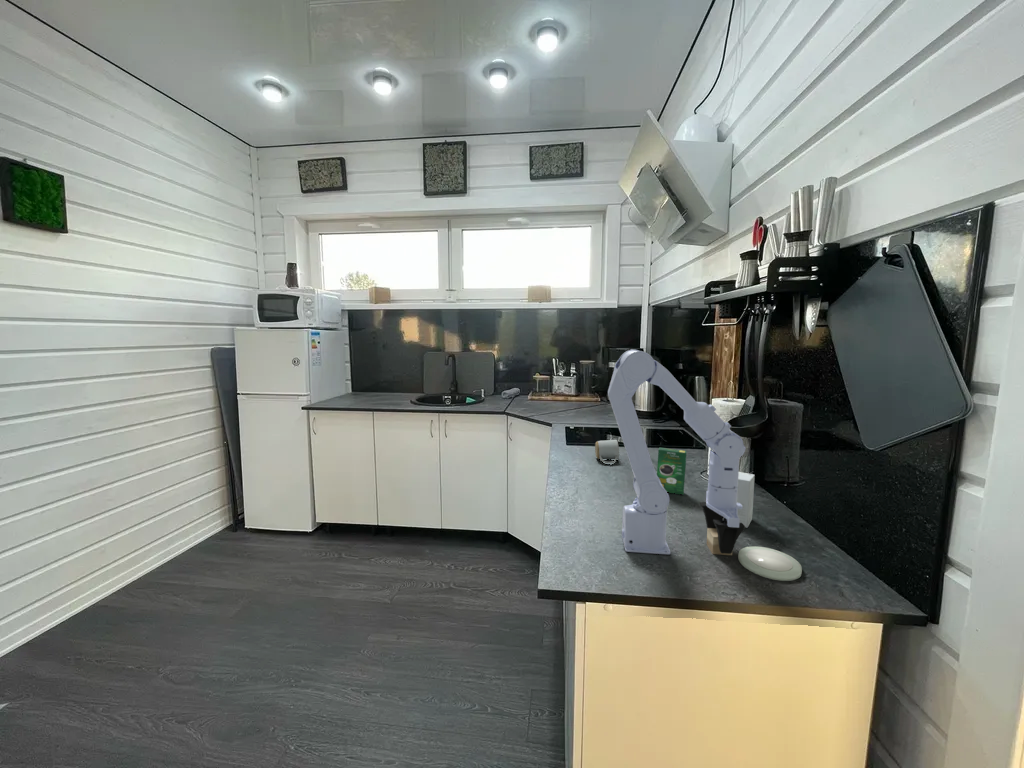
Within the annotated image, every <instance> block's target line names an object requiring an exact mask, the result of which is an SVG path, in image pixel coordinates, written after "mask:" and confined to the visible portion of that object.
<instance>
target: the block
mask: <svg viewBox="0 0 1024 768" xmlns="http://www.w3.org/2000/svg"><path fill="white" fill-rule="evenodd" d="M706 529H707V530H706V531H707V532H706V546H707V548H708V549H709V551H710V552H711V555H723V556H733V552H732V553H731V554H726V553H721V552H720V549H719V541H718V533H717V529H714V528H707V527H706Z"/></svg>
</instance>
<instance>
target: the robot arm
mask: <svg viewBox="0 0 1024 768" xmlns="http://www.w3.org/2000/svg"><path fill="white" fill-rule="evenodd" d="M645 382H647V383H649V384H651V385H655V386H657V387H659V388H660V389H662V391H664V393H665V394H666V395H667V396H669V397H670V399H671V400H672V401H674V403H676V404H677V406H679V407H680V409H681V410H683V420H684V421H685V423H686V424H688V426H689V427H690V428H691V429H692V430H693V431H694V432H695V433H696V434H697V435H698V437H699V438H700V439H702V440H703V441H704V442H705V443H706V446H707V447H708V448H709V449H710V450H709V462H708V479H707V481H708V482H707V490H706V491H705V492H706V493H705V499H706V500H705V501H700V502H699V505H700V507H701V509H702V512H703V514H704V518H705V522H706V523H705V524H706V529H707V528H714V529H717V533H718V541H719V549H720V552H721V553H726V554H731V553H732V554H733V551H734V548H735V545H736V542H737V540H738V538H739V537H740V535H741V534H742V533H743V532H744V531H745V529H746V527H745V526H744V525H743V523H739V521H740V519H739V517H738V509H742V507H743V506H742V505H741V504H740V503H737V491H738V476H739V472H740V458H741V457H742V456H744V454H745V452H746V448H747V447H746V446H745V443H744V440H743V439H742V437H741V436H740V435H738V434H737V433H735V432H734V431H732V430H731V428H732V425H731V424H730V423H729V422H727V421H726V422H725V421H724V420H723V419H722V418H721V417H720V416H719V414H717V413H716V411H717V409H716V407H715V406H714V405H712V404H711V403H710V404H708V403H707V402H704V401H696V400H695V398H693V396H692V395H691V394H690V393H689V392H688V390H686V389H685V388H684V386H683V385H682V384H681V383H680V382H679V381H678V380H677V379H676V377H674V375H673V374H672V373H671V372H670V371H669V370H668V369H667V368H666V367H665V366H663V364H661V363H660V362H659V361H657V360H655V359H654V358H653V356H651V354H649V353H648V352H645V351H642V350H638V349H633V348H632V349H629V350H626V351H625V352H623V353H622V354H621V355H620V356H619V358H618V359H617V361H616V362H615V364H614V367H613V372H612V376H611V380H610V382H609V386H608V389H607V396H608V400H609V403H610V406H611V409H612V412H613V415H614V418H615V422H616V424H617V426H618V427H617V428H618V431H619V433H620V436H621V440H622V442H623V446H624V449H625V452H626V454H627V458H628V460H629V464H630V466H631V471H632V473H633V481H632V487H633V488H632V489H633V490H634V492H635V494H636V497H635V498H634V500H633V501H632V504H628V505H627V504H626V505H623V506H622V514H621V515H622V524H621V527H622V528H621V538H622V542H623V543H622V544H623V547H624V551H625V552H627V553H628V552H629V553H639V554H640V553H641V554H655V555H656V554H657V555H658V554H659V555H668V556H669V555H671V554H672V553H671V549H670V547H669V545H668V542H667V541H666V540H667V521H668V520H667V515H668V507H669V505H670V495H669V493H667V491H666V490H665V489H664V487H663V486H662V484H661V481H660V479H659V477H658V476H657V470H656V469H655V467H654V464H653V460H652V458H651V455H650V451H649V448H648V445H647V443H646V439H645V437H644V433H643V430H642V427H641V423H640V421H639V417H638V415H637V411H636V408H635V404H634V402H633V396H634V395H635V394H636V392H637V390H638V389H639V387H640V386H642V384H644V383H645Z"/></svg>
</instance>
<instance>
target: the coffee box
mask: <svg viewBox="0 0 1024 768" xmlns="http://www.w3.org/2000/svg"><path fill="white" fill-rule="evenodd" d="M657 453H658V454H657V464H656V465H657V466H656V474H657V476H658V477H659V479H660V481H661V484H662V486H663V487H664V489H665V490H666V491H667V492H669V493H668V494H674V493H675V495H680V494H682V496H684V495H685V494H684V493H685V480H686V469H687V468H686V466H687V453H688V452H687V450H681V449H675V448H674V449H672V448H666V447H659V448H658V452H657Z"/></svg>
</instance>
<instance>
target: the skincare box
mask: <svg viewBox="0 0 1024 768" xmlns="http://www.w3.org/2000/svg"><path fill="white" fill-rule="evenodd" d="M755 477H756V476H755V474H753V473H748V472H747V473H746V472H743V471H742V472H741V471H739V476H738V491H737V503H740V504H741V505H742V506H743V507H742V509H738V517H739V519H740V521H739V523H743V525H744V526H745V529H746V528H748V527H749V526H750V523H751V522H752V520H753V513H754V512H753V510H754V509H753V508H754V494H755V493H754V492H755V491H754V490H755Z"/></svg>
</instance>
